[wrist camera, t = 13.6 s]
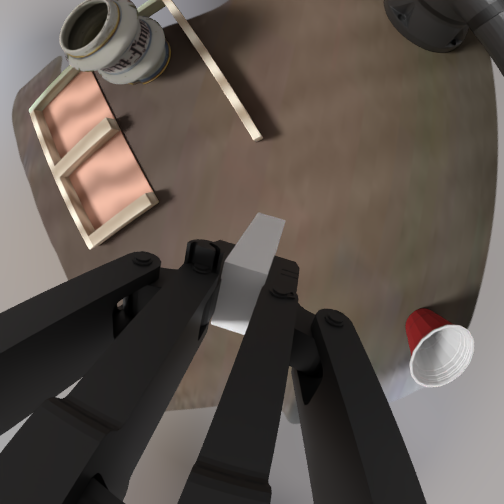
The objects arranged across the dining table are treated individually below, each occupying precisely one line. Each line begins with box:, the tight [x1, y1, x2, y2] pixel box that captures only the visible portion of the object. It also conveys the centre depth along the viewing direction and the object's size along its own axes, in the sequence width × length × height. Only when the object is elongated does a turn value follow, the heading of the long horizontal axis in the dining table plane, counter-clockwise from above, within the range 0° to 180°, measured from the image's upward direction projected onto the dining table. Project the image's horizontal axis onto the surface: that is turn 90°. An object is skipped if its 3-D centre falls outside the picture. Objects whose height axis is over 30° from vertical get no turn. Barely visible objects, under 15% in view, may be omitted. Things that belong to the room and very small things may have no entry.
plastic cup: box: [406, 309, 474, 387], centre depth 41 cm, size 11×11×12 cm
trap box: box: [29, 0, 263, 250], centre depth 43 cm, size 32×34×3 cm
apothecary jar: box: [60, 0, 171, 85], centre depth 33 cm, size 12×12×18 cm
